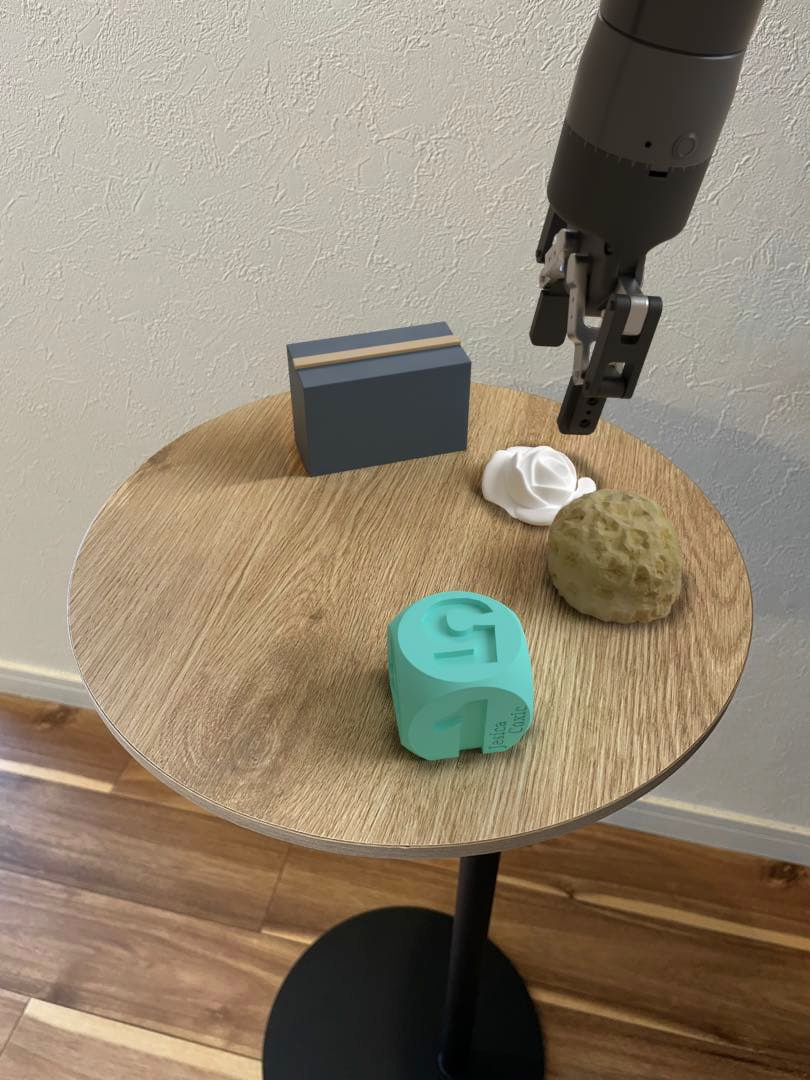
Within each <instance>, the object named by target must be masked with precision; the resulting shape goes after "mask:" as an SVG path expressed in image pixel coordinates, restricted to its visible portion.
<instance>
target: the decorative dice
mask: <svg viewBox="0 0 810 1080" xmlns="http://www.w3.org/2000/svg"><path fill="white" fill-rule="evenodd" d="M386 649H387V650H386V652H387V667H388V675H389V676H388V677H389V678H388V679H389V686H390V692H391V695H392V697H391V698H392V703H393V708H394V714H395V719H396V725H397V731H398V736H399V742H400V744H401V746H403V747H404V748H405V749H407V750H408V751H409V752H411V753H413V754H415V755H416V756H418V757H420V758H422V759H425V760H427V761H437V760H445V759H453V758H459V757H460V751H463V750H471V749H480V748H481V752H482V754H483V755H485V754H492V753H500V752H506V751H508V750H509V749H511V748H512V747H514V745H515V744H516V743H518V742H519V741H520V740H521V738H523V736H524V735H525V734H526V732H528V730H529V729H530V727H531V725H532V723H533V716H534V703H535V702H534V697H535V696H534V681H533V670H532V663H531V656H530V652H529V648H528V643H527V639H526V635H525V632H524V629H523V626H522V623H521V621H520V619H519V617H518V616H517V614H516V613H515V612H514V611H513V610H512V609H511V608H509V607H508V606H506V605H504V604H503V603H502V602H500V601H498V600H496V599H494V598H492V597H489V596H487V595H484V594H481V593H477V592H472V591H465V590H447V591H441V592H437V593H436V592H435V593H432V594H429V595H426V596H424V597H422V598H420V599H418V600H416V601H414V602H412V603H410V604H409V605H407V606H406V607H405V608H403V609H402V610H401V611H400V612H398V614H397V615H396V616H394V618H393V619H391V621H390V622H389V624H388V625H387V628H386Z"/></svg>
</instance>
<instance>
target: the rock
mask: <svg viewBox="0 0 810 1080" xmlns="http://www.w3.org/2000/svg"><path fill="white" fill-rule="evenodd" d="M684 564H685V562H684V557H683V553H682V548H681V543H680V541H679V539H678V535H677V532H676V531H675V527H674V526H673V523H672V522H671V520H670V519H669V518H668V516H667V515H666V512H665V511H664V509H663V508H662V506H661V505H660V504H659V503H658V502H656V500H654V499H653V498H650V497H648V496H647V495H646V494H644V493H641V492H639V491H634V490H628V489H615V488H614V489H612V488H606V487H605V488H602V489H596V491H593V492H591V493H586V494H583V495H582V496H581V497H579V498H575V499H574V500H572V501H571V502H570V503H569V504H568V505H566V506H564V507H562V508H561V509H560V510H559V511H558V513H557V514H556V516H555V518H554V520H553V522H552V524H551V525H550V527H549V534H548V541H547V568H548V572H549V576H550V577H551V579H552V585H553V586H554V587H555V589H557V591H558V596H561V597H562V598H564V600H565V602H566V603H567V604H568V605H569V606H570V607H571V608H574V609H575V610H576V611H577V612H579V613H580V614H582V615H583V614H584V615H588V616H592V617H594V618H596V619H598V620H600V621H602V622H605V623H606V622H607V623H608V622H615V623H618V624H624V625H625V624H630V623H632V624H633V623H637V622H638V623H640V624H647V623H651V622H653V621H656V620H661V619H664V618H666V617H667V616H668V615H669V614H670V612H671V610H672V605H674V603H675V602H678V601H679V600H680V599H679V597H680V595H681V587H682V583H683V580H682V574H683V571H684V570H683V566H684Z"/></svg>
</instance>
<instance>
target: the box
mask: <svg viewBox="0 0 810 1080" xmlns="http://www.w3.org/2000/svg"><path fill="white" fill-rule="evenodd" d="M286 357H287V367H288V379H289V388H290V389H289V390H290V401H291V402H290V403H291V412H292V424H293V431H294V432H293V435H294V443H295V445H296V448H297V451H298V453H299V457H300V459H301V462H302V465H303V468H304V471H305V473H306V474H307V473H309V474H308V475H309V478H315V477H321V476H327V475H332V474H338V473H344V472H349V471H355V470H361V469H367V468H372V467H373V468H374V467H378V466H383V465H389V464H395V463H400V462H401V463H402V462H406V461H412V460H418V459H423V458H429V457H434V456H440V455H446V454H451V453H459V452H462V451H467V450H468V435H469V420H470V419H469V415H470V400H471V399H470V398H471V382H472V381H471V379H472V365H473V363H472V360H471V359H470V357H469V356H468V354H467V353H466V351H465V350H464V348H463V346H462V340H461V339H460V337H459V336H458V334H454V332H453V331H452V329H451V328H450V326H449V325H448V324H447V322H446V321H438V322H432V323H424V324H416V325H410V326H404V327H395V328H388V329H382V330H376V331H375V330H374V331H369V332H362V333H361V332H360V333H355V334H347V335H343V336H342V335H341V336H335V337H328V338H327V337H326V338H320V339H314V340H307V341H300V342H293V343H287V344H286Z"/></svg>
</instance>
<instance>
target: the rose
mask: <svg viewBox="0 0 810 1080" xmlns="http://www.w3.org/2000/svg"><path fill="white" fill-rule="evenodd" d="M576 471H577V470H576V468H575V465H574V463H573V462H572V461H571V460H570V458H569V457H568V456H567V455H566V454H565V453H563V452H561V451H559V450H555V449H554V448H553V447H551V446H548V445H538V446H534V447H532V446H523V445H522V446H521V445H520V446H519V445H518V446H517V445H516V446H511V447H508V448H506V449H505V450H504V449H498V450H496V451H495V452H494V453H493V455H492V457H491V459H490V460H489V461H488V462H487V464H486V465H485V467H484V470H483V472H482V476H481V492H482V495H483V499H484V500H486V501H488V502H491V503H493V504H495V505H497V506H499V507H501V508H503V510H505V511H506V512H507V513H508V514H509V515H510V516H511V517H512V518H513V519H517V520H518V521H521V522H523V523H525V524H528V525H532V526H537V527H538V526H544V527H545V526H551V524H552V522H553V520H554V518H555V516H556V514H557V513H558V511H559V510H560V509H561V508H562V507H564V506H566V505H568V504H569V503H570V502H571V501H572V500H574V499H575V498H579V497H581V496H582V495H583V494H586V493H591V492H593V491H596V490H597V486H596V483H595V481H594V480H593V479H592V478H590V477H587V476H586V477H580V478H577V472H576Z"/></svg>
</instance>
